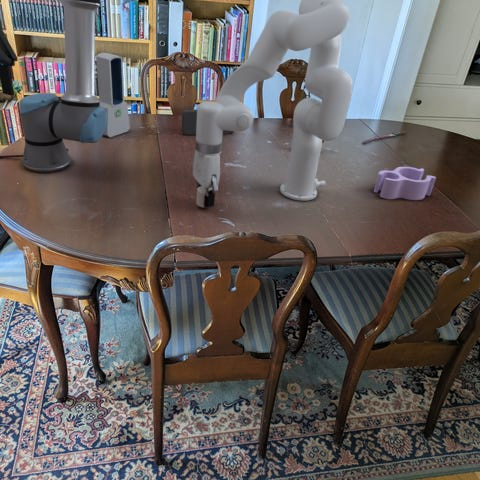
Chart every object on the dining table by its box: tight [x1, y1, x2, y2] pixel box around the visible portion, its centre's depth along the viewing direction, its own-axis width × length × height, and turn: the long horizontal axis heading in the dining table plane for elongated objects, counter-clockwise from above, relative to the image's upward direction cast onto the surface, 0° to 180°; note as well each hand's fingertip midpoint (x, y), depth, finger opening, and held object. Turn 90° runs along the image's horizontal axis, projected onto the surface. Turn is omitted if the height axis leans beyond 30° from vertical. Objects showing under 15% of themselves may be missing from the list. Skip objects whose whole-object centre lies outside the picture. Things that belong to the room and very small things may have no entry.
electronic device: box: [95, 52, 131, 138], centre depth 181 cm, size 12×8×30 cm, turn 148°
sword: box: [363, 132, 408, 145], centre depth 213 cm, size 31×3×1 cm, turn 126°
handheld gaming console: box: [180, 108, 235, 135], centre depth 196 cm, size 23×3×10 cm, turn 108°
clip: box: [373, 166, 437, 201], centre depth 164 cm, size 20×12×7 cm, turn 109°
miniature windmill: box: [290, 64, 311, 127], centre depth 211 cm, size 9×8×30 cm
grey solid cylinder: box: [195, 186, 212, 209], centre depth 143 cm, size 5×5×5 cm
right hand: (205, 201), depth 144 cm, fingers closed on grey solid cylinder, 5 cm apart
